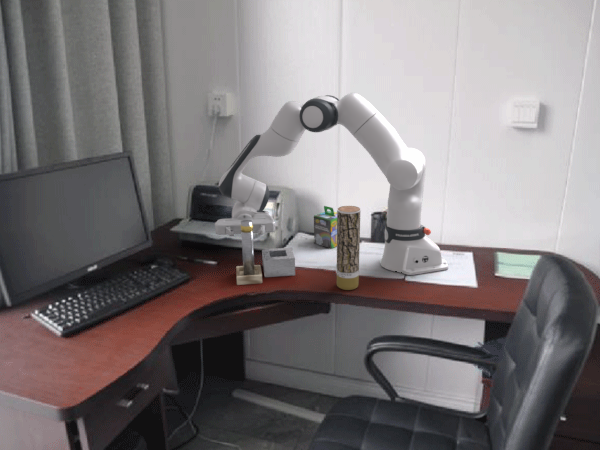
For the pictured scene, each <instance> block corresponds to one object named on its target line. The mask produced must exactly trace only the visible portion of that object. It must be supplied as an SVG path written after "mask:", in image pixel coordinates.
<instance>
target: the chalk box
mask: <svg viewBox="0 0 600 450" xmlns="http://www.w3.org/2000/svg"><path fill="white" fill-rule="evenodd" d="M323 210H324V212H320V213H316V214H314V215H313V232H314V233H313V234H314V235H313V241H314V244H316V245H318V246H320V247H321V246H322V247H324V248H326V249H327V248H328V249H333V248H337V211H334V207H330V206H327V205H324V206H323Z"/></svg>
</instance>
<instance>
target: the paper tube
mask: <svg viewBox="0 0 600 450" xmlns="http://www.w3.org/2000/svg"><path fill="white" fill-rule="evenodd" d="M336 212H337V247H336V286H337V288H339V289H340V290H343V291H344V290H345V291H351V290H352V291H353V290H355V289H357V288H358V287H359V282H360V281H359V279H360V278H359V277H360V248H361V247H360V244H361V243H360V242H361V240H360V239H361V238H360V237H361V208H360V207H358V206H355V205H340V206H338V207H337V210H336Z"/></svg>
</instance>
